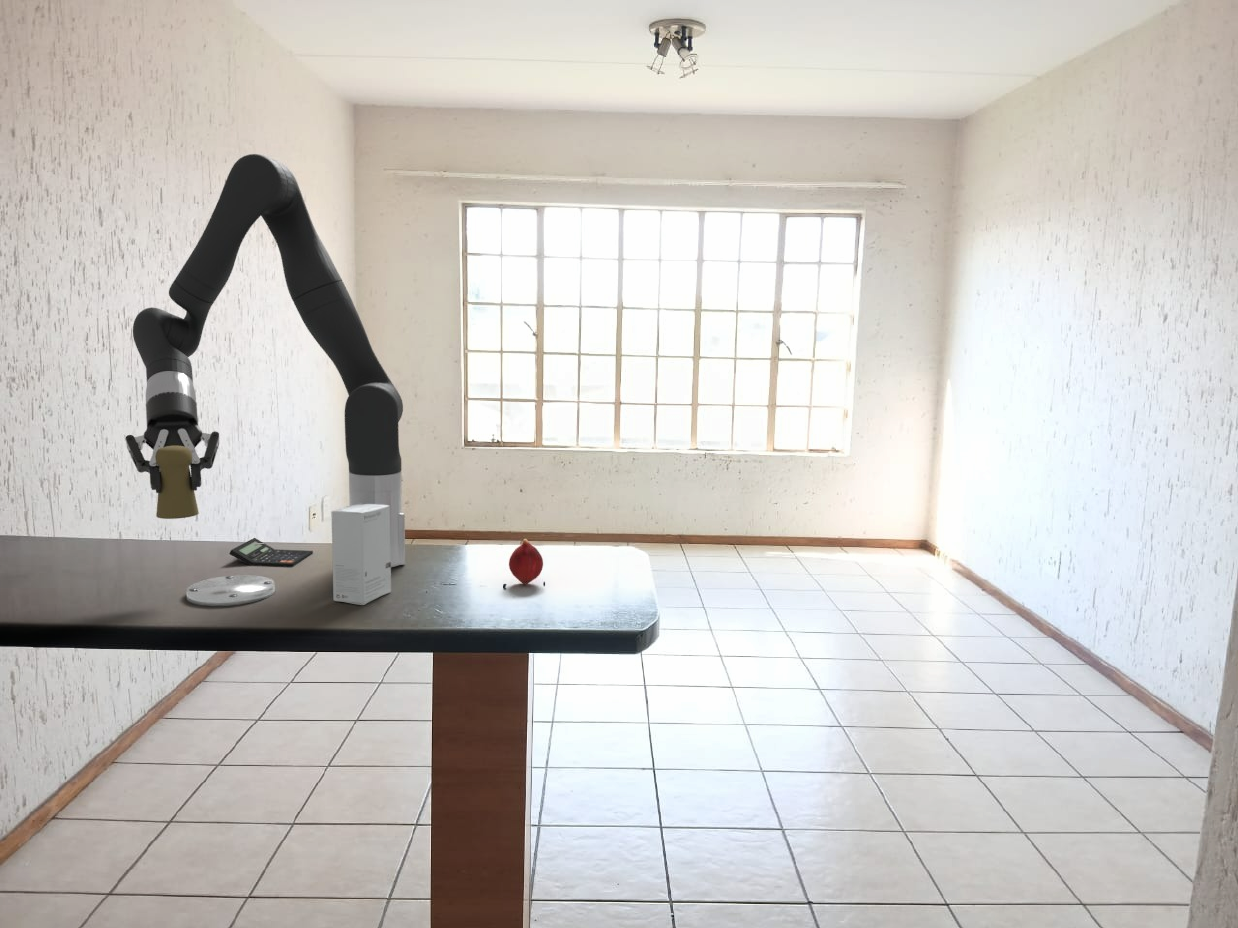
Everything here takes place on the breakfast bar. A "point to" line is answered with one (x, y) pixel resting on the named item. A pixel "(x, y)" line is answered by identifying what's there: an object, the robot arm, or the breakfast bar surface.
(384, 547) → the skincare box
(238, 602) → the flange
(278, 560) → the calculator
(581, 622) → the breakfast bar surface
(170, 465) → the cork
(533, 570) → the onion
